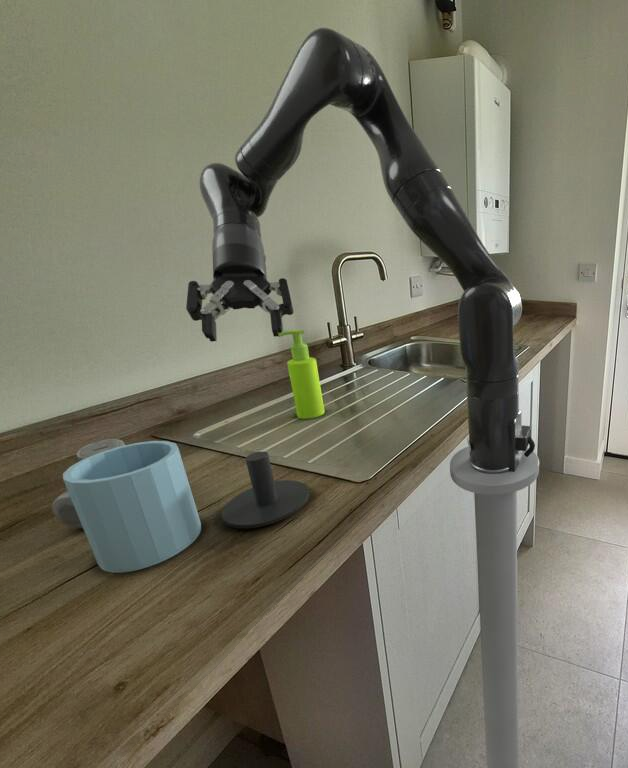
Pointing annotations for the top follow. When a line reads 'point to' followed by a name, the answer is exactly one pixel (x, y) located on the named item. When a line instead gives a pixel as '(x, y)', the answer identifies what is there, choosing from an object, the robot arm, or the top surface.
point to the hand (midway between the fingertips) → (244, 336)
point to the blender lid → (264, 497)
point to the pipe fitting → (63, 503)
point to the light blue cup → (134, 504)
